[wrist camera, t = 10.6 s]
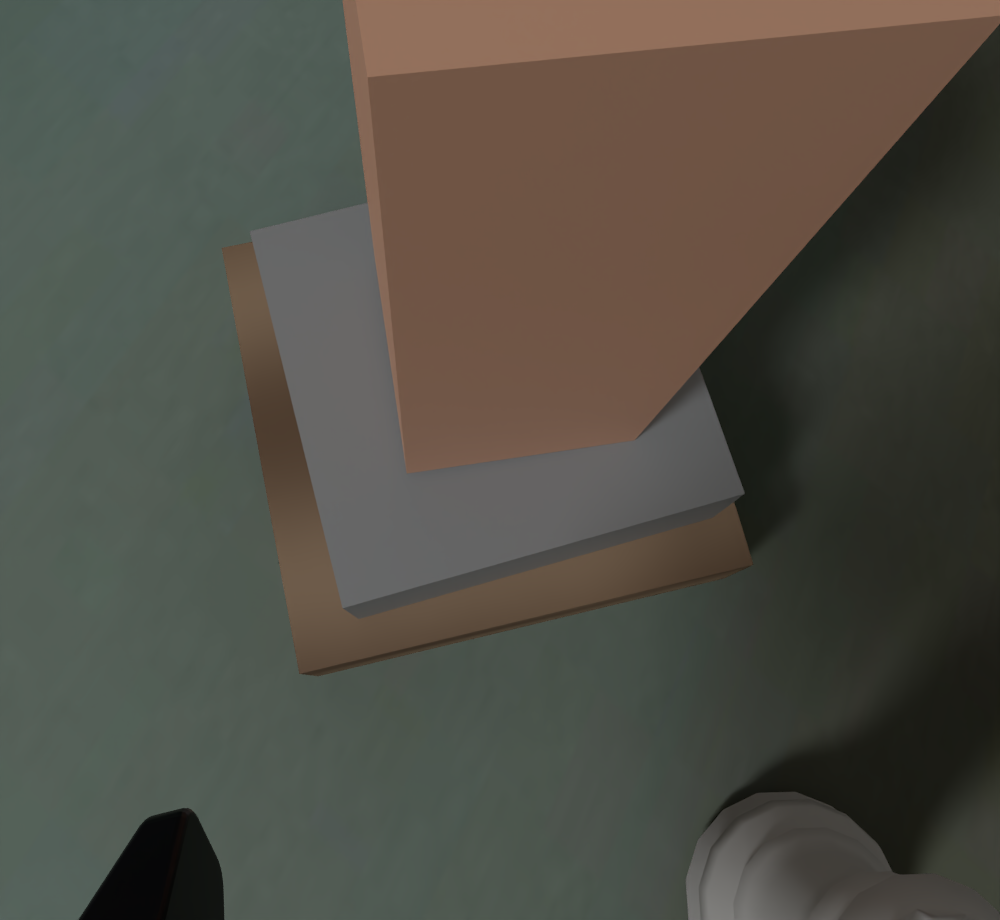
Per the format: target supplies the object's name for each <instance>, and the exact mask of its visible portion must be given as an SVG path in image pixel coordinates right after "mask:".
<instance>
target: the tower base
mask: <svg viewBox="0 0 1000 920" xmlns="http://www.w3.org/2000/svg"><path fill="white" fill-rule="evenodd" d="M222 252H223V257H224V263H225V268H226V274H227V279H228V285H229V290H230V295H231V301H232V306H233V312H234V317H235V323H236V328H237V334H238V339H239V345H240V350H241V356H242V361H243V367H244V372H245V378H246V383H247V389H248V394H249V400H250V405H251V411H252V416H253V422H254V427H255V433H256V438H257V444H258V449H259V455H260V460H261V466H262V471H263V476H264V482H265V487H266V493H267V498H268V504H269V509H270V515H271V520H272V526H273V531H274V537H275V542H276V548H277V553H278V559H279V564H280V570H281V575H282V581H283V586H284V592H285V597H286V603H287V608H288V614H289V619H290V625H291V630H292V636H293V641H294V647H295V652H296V657H297V663H298V668H299V674H305V675H314V676H321V675H325V674H329V673H333V672H337V671H341V670H346V669H350V668H354V667H358V666H362V665H366V664H371V663H375V662H379V661H383V660H387V659H391V658H395V657H400V656H404V655H408V654H412V653H416V652H420V651H424V650H429V649H433V648H437V647H441V646H445V645H449V644H453V643H458V642H462V641H466V640H470V639H474V638H478V637H483V636H487V635H491V634H495V633H499V632H503V631H507V630H512V629H516V628H520V627H524V626H528V625H532V624H536V623H541V622H545V621H549V620H553V619H557V618H561V617H565V616H570V615H574V614H578V613H582V612H586V611H590V610H595V609H599V608H603V607H607V606H611V605H615V604H619V603H624V602H628V601H632V600H636V599H640V598H644V597H648V596H653V595H657V594H661V593H665V592H669V591H673V590H677V589H682V588H686V587H690V586H694V585H698V584H702V583H707V582H711V581H715V580H719V579H723V578H726V577H728V576H730V575H732V574H734V573H736V572H739V571H741V570H743V569H745V568H747V567H749V566H752V565H753V562H752V558H751V555H750V552H749V549H748V545H747V542H746V539H745V535H744V532H743V529H742V526H741V522H740V519H739V516H738V513H737V509H736V506H735V503H734V502H733V503H732V504H730V505H729V506H728V507H726V508H725V509H724V510H722V511H721V512H720V513H718V514H717V515H716V516H714V517H713V518H710V519H707V520H703V521H700V522H696V523H693V524H689V525H686V526H682V527H679V528H675V529H672V530H668V531H665V532H661V533H658V534H654V535H651V536H647V537H644V538H640V539H637V540H633V541H630V542H626V543H623V544H619V545H616V546H612V547H609V548H605V549H602V550H598V551H595V552H591V553H588V554H584V555H581V556H577V557H574V558H570V559H567V560H563V561H560V562H556V563H553V564H549V565H546V566H542V567H539V568H535V569H532V570H528V571H525V572H521V573H518V574H514V575H511V576H507V577H504V578H500V579H497V580H493V581H490V582H487V583H483V584H480V585H476V586H473V587H469V588H466V589H462V590H459V591H455V592H452V593H448V594H445V595H441V596H438V597H434V598H431V599H427V600H424V601H420V602H417V603H413V604H410V605H406V606H403V607H399V608H396V609H392V610H389V611H385V612H382V613H378V614H375V615H371V616H368V617H364V618H361V619H358V618H356V617H355V616H353V615H352V614H350V613H349V612H347V611H346V610H344V609H343V608H342V604H341V600H340V596H339V592H338V588H337V584H336V580H335V576H334V571H333V567H332V563H331V559H330V555H329V551H328V547H327V543H326V539H325V535H324V531H323V527H322V523H321V519H320V515H319V511H318V506H317V502H316V498H315V494H314V490H313V486H312V482H311V478H310V474H309V470H308V466H307V462H306V458H305V454H304V450H303V445H302V441H301V437H300V433H299V429H298V425H297V421H296V417H295V413H294V409H293V405H292V401H291V397H290V393H289V389H288V385H287V380H286V376H285V372H284V368H283V364H282V360H281V356H280V352H279V348H278V344H277V340H276V336H275V332H274V328H273V324H272V320H271V315H270V311H269V307H268V303H267V299H266V295H265V291H264V287H263V283H262V279H261V275H260V271H259V267H258V263H257V259H256V255H255V250H254V246H253V242H249V243H245V244H240V245H235V246H230V247H225V248H222Z"/></svg>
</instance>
